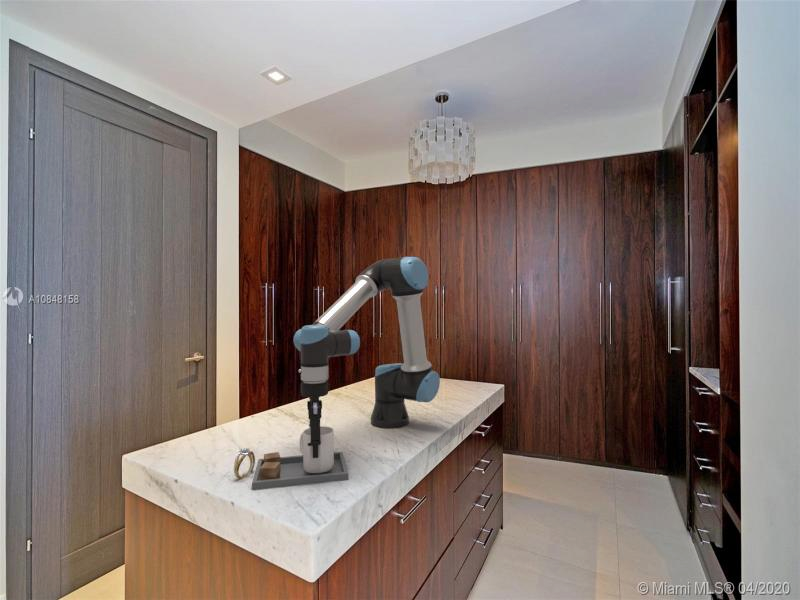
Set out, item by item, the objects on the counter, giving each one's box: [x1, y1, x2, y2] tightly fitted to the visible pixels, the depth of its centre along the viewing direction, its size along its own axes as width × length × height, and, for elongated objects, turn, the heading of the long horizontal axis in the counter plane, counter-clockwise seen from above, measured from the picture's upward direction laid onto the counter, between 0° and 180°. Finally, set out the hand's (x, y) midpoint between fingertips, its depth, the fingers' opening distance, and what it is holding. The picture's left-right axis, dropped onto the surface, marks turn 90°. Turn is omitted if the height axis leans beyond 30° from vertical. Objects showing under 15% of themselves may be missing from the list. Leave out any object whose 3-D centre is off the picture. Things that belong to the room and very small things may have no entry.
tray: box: [251, 451, 349, 491], centre depth 111 cm, size 24×16×2 cm, turn 104°
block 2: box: [260, 462, 280, 480], centre depth 106 cm, size 4×4×4 cm
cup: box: [299, 425, 335, 473], centre depth 112 cm, size 8×12×10 cm
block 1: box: [263, 451, 281, 463], centre depth 112 cm, size 4×4×4 cm
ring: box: [233, 447, 256, 480], centre depth 108 cm, size 7×3×8 cm, turn 156°
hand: (314, 461), depth 112 cm, fingers closed on cup, 9 cm apart
